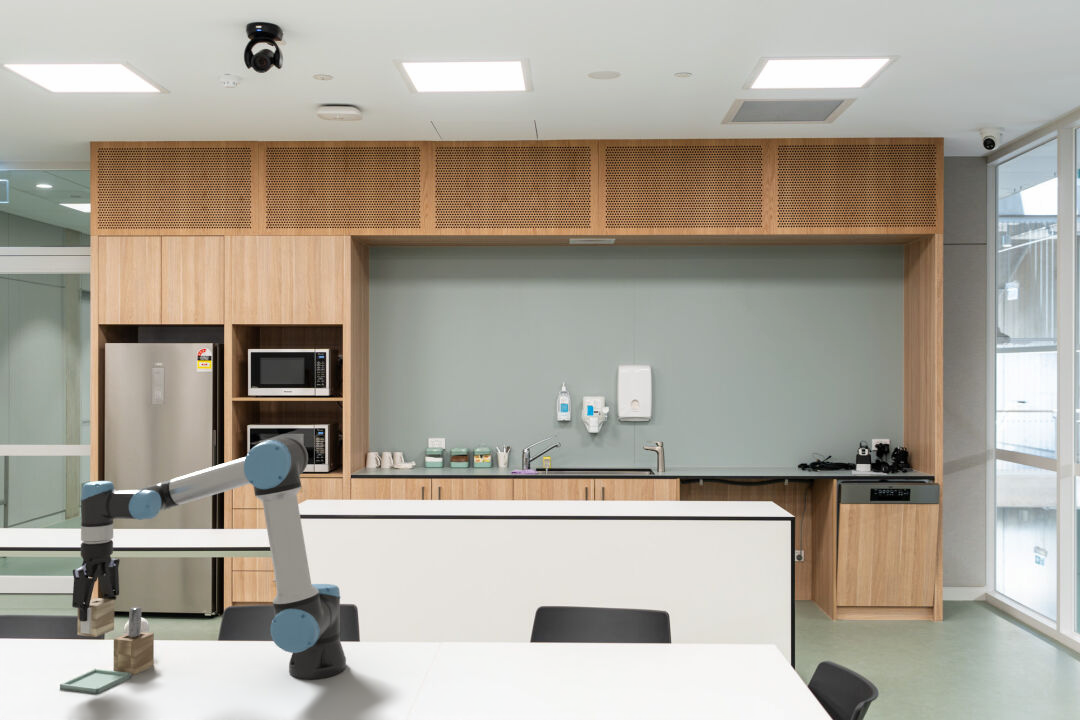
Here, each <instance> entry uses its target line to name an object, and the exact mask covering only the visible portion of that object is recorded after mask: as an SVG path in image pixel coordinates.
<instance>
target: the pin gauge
mask: <svg viewBox="0 0 1080 720" xmlns="http://www.w3.org/2000/svg"><path fill="white" fill-rule="evenodd" d="M128 611H129V613H128V614H129V615H128V617H129V618H128V621H129V635H128V639H136V638H139V637H140V636H141V617H142V607H141V606H133V607H130V608H129V610H128Z"/></svg>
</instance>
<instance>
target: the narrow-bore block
mask: <svg viewBox="0 0 1080 720" xmlns="http://www.w3.org/2000/svg"><path fill="white" fill-rule="evenodd" d="M84 604H85V603H84ZM89 608H92V621H91V633H90V634H86V633H81V621H80V620H79V608H77V633H76V634H77V636H85V637H92V638H93V637H95V638H97V637H100V636H102V635H104V634H105V635H106V634H108V633H109V632H112V631H115V600H113V599H104V598H103V597H102V598H100V597H94V598H91V600H90V604H89Z"/></svg>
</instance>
